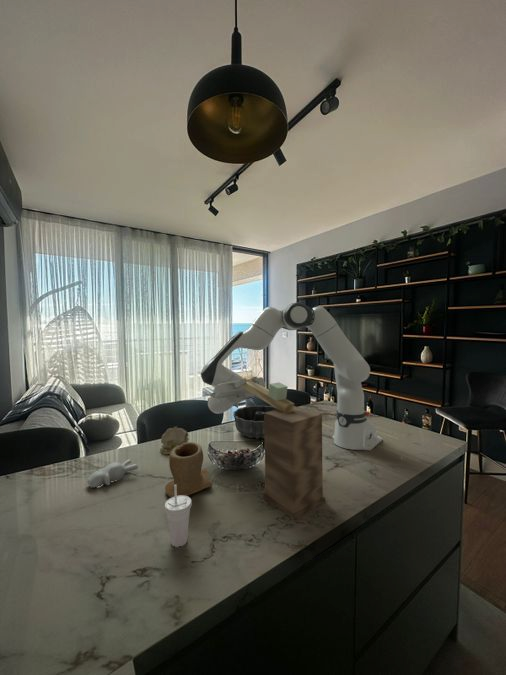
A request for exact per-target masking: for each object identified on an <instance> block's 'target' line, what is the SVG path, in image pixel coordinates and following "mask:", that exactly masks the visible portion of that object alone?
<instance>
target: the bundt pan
mask: <svg viewBox="0 0 506 675" xmlns="http://www.w3.org/2000/svg"><path fill="white" fill-rule="evenodd" d="M273 410H277V408H275V407H273V406H272V405H269V406H268V405H250V406H244V407H240V408H237V409H235V410H234V411H233V413H232V414H233V419H234V424H235V428H236V431H237V432H238V433H239V434H241V436H244V437H247V438H250V439H252V438H255V439H256V440H257V439H265V436H264V413H265V412H269V411H273Z"/></svg>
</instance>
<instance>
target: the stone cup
mask: <svg viewBox="0 0 506 675" xmlns="http://www.w3.org/2000/svg"><path fill="white" fill-rule="evenodd" d="M168 462H169V465H168V466H169V469H170V470H169V471H170V472H171V475H172V478H173V480H171V481H169V482H168V483H166V484H165V487H164V491H165V493H166V495H167V496H168V497H170V498H172V497H175V495H174V485H177V496H179V495H184V496H188V497H189V496H190V495H193V494H195V493H198V492H200V491H202V490H204V489H207V488H209V487H211V486H212V485H213V482H212V480H211V477H210V471H209V470H208V469H206V468H205V469H203V470H202V467H203V462H204V451H203V448H202V446H201V445H200V443H197V442H194V441H192V442H190V441H188V443H183V444H181V445H179V446H177V447H175V448H174V449H173V450H172V451H171V453H170V455H169V461H168Z"/></svg>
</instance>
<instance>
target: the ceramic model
mask: <svg viewBox="0 0 506 675" xmlns="http://www.w3.org/2000/svg"><path fill="white" fill-rule="evenodd" d="M188 442H189V433H188V431H187V430H185V429H184V428H181V427H178V426H173V427H170V428H167V429H166V431H165V432H164V433H163V434H162V435H161V440H160V443H161V444H162V445H161V447H160V449H159V453H160V454H162V453H163V454H162V455H165V454H170V453H171V451H172V450H173V449H174V448H175V447H177V446H179V445H181V444H183V443H188Z"/></svg>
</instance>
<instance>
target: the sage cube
mask: <svg viewBox="0 0 506 675" xmlns="http://www.w3.org/2000/svg"><path fill="white" fill-rule="evenodd" d="M268 385H269V387H268V390H269V393H268V396H269V397H271V398H273V399H274V400H276V401H278V400H282V399H287V395H288V394H287V393H288V386H287V385H286V384H283V383H281V382H273V383H269V384H268Z"/></svg>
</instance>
